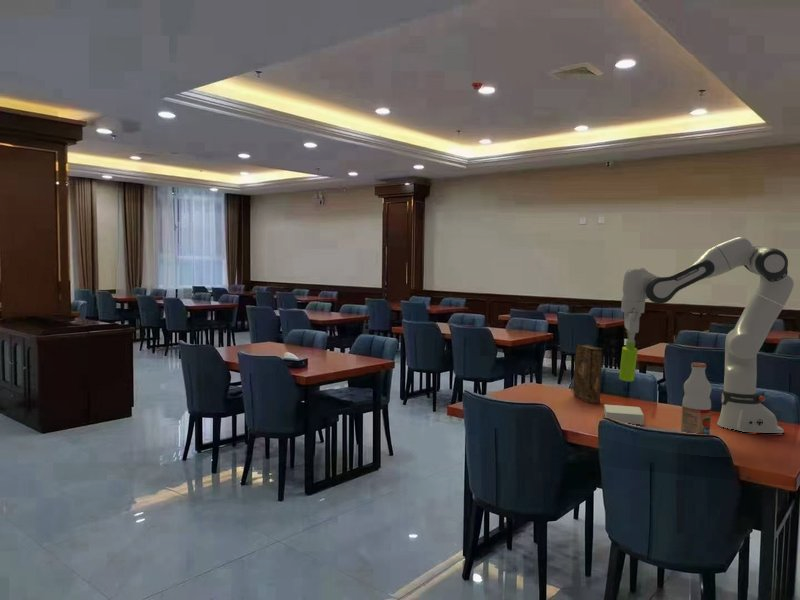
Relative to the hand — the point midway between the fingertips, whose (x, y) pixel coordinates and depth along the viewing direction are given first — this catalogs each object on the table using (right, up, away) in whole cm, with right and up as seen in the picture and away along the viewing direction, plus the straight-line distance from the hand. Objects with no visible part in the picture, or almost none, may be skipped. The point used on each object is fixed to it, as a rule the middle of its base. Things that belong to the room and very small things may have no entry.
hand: (630, 341), depth 242 cm
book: (-6, -30, +37) cm, 48 cm away
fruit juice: (+14, -34, -25) cm, 45 cm away
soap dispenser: (-1, -16, +4) cm, 16 cm away
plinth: (-3, -32, +1) cm, 32 cm away
